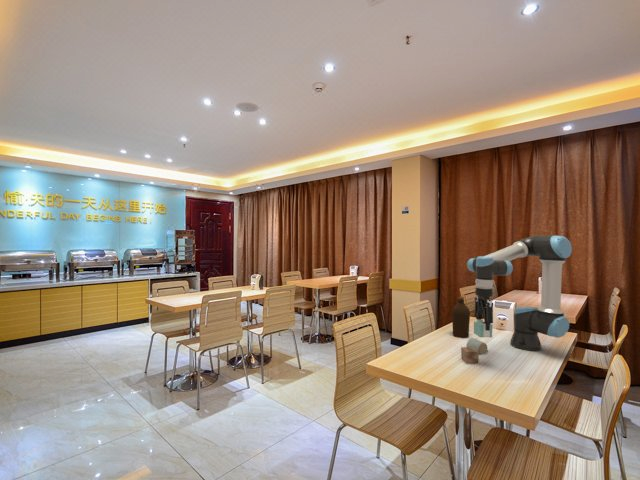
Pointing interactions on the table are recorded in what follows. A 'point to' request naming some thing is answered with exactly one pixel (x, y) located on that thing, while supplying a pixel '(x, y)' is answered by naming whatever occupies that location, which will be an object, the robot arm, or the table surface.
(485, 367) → the table surface
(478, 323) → the teal block
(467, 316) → the olive oil
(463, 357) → the walnut block
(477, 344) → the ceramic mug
